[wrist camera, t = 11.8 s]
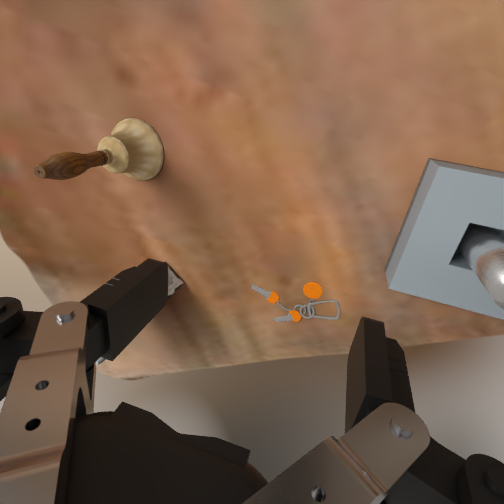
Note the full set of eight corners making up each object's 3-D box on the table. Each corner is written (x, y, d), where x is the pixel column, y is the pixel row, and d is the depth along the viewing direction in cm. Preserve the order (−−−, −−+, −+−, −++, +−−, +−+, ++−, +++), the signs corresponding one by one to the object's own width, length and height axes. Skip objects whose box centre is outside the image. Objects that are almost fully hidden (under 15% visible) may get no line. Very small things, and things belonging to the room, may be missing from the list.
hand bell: (146, 107, 41) (38, 109, 27) (174, 169, 44) (88, 199, 30) (101, 131, 44) (-15, 144, 31) (129, 187, 47) (34, 223, 33)
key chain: (337, 279, 44) (337, 282, 43) (341, 323, 46) (341, 326, 45) (250, 280, 48) (248, 283, 47) (258, 321, 50) (257, 324, 50)
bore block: (428, 158, 34) (439, 166, 30) (577, 186, 31) (612, 199, 27) (385, 268, 41) (388, 288, 36) (505, 299, 38) (524, 325, 34)
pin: (461, 217, 35) (506, 266, 24) (497, 225, 34) (559, 279, 24) (447, 246, 36) (483, 304, 26) (481, 254, 36) (533, 317, 25)
